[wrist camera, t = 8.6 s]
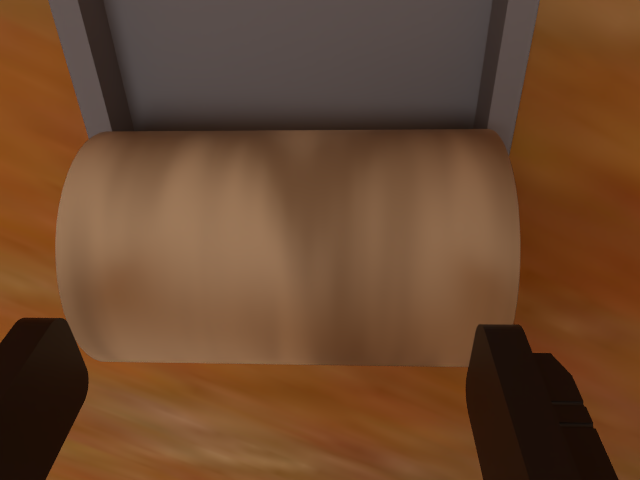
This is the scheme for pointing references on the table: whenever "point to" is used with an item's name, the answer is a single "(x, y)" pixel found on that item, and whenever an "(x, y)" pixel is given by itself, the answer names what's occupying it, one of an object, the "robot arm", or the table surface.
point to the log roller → (288, 246)
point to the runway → (297, 63)
